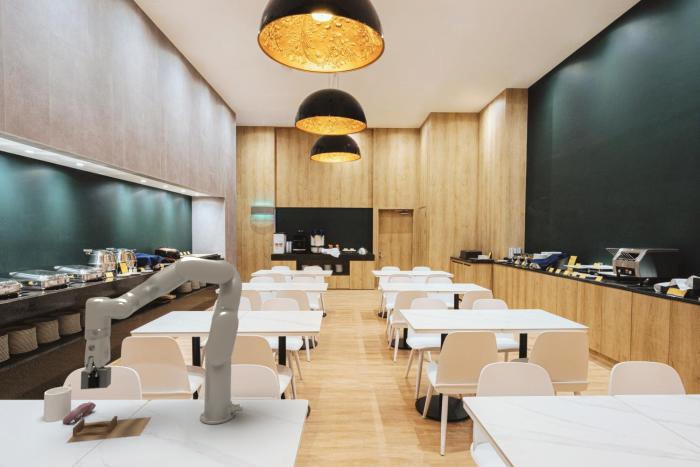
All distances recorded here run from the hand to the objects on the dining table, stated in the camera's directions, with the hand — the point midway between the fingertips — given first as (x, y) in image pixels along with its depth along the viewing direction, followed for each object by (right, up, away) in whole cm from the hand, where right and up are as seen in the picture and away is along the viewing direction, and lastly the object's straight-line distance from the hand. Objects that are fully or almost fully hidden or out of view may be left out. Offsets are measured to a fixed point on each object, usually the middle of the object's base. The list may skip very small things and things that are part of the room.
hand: (96, 385), depth 133 cm
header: (+5, -17, +1) cm, 18 cm away
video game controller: (-13, -17, +10) cm, 24 cm away
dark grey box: (0, -1, 0) cm, 1 cm away
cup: (-23, -17, +14) cm, 32 cm away
